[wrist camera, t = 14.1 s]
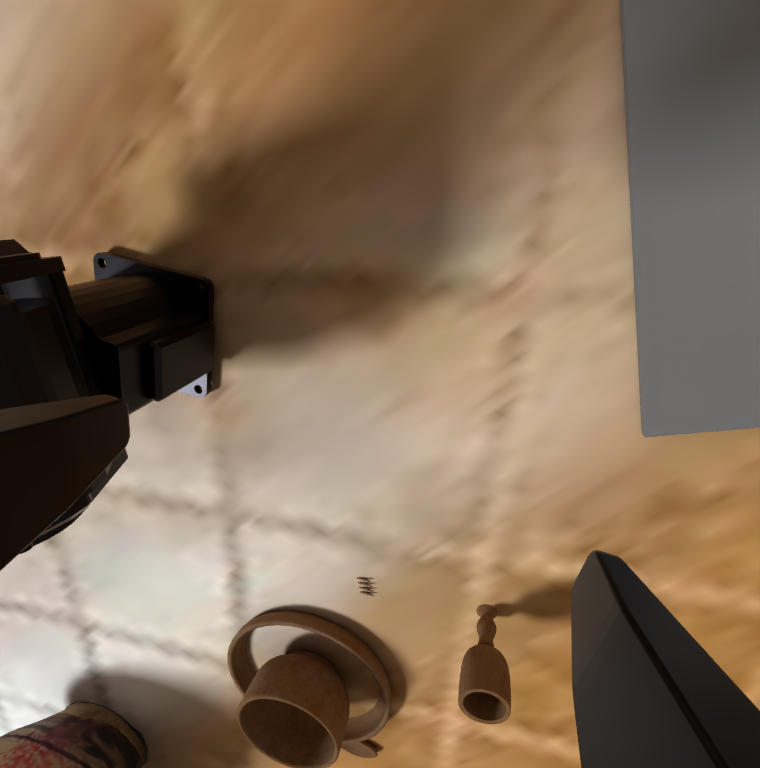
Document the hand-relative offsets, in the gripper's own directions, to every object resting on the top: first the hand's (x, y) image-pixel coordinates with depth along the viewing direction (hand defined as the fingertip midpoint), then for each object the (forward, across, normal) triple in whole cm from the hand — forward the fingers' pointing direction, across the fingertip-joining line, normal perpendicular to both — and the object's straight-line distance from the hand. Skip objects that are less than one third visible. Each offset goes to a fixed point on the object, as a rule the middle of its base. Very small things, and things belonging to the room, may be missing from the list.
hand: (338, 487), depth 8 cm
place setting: (+14, -1, +25) cm, 29 cm away
